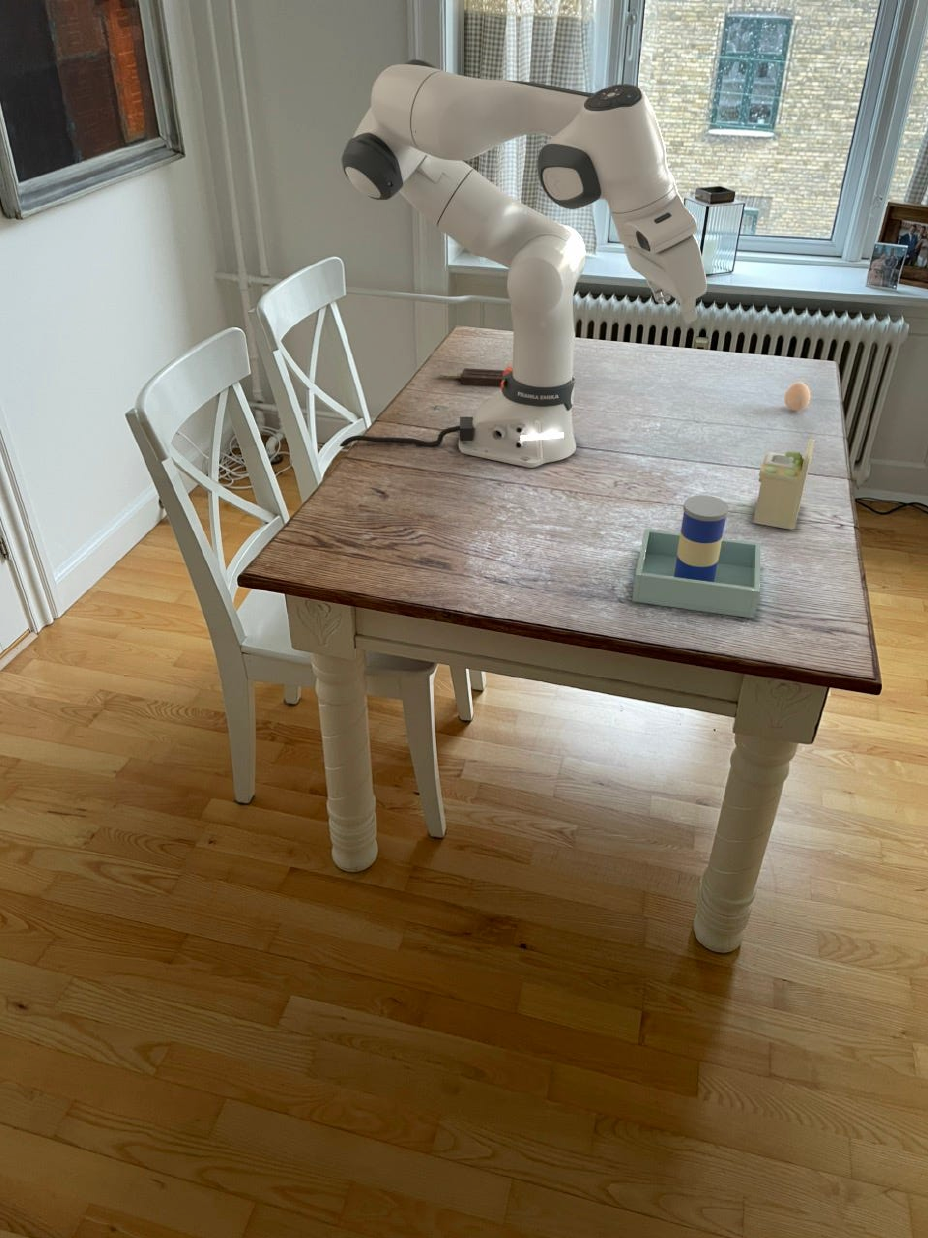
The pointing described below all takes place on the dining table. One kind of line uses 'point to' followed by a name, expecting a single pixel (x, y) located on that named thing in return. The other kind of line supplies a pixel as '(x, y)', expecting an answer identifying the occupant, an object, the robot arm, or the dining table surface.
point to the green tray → (725, 595)
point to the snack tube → (700, 538)
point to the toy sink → (782, 488)
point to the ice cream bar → (478, 376)
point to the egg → (797, 396)
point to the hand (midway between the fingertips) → (676, 310)
